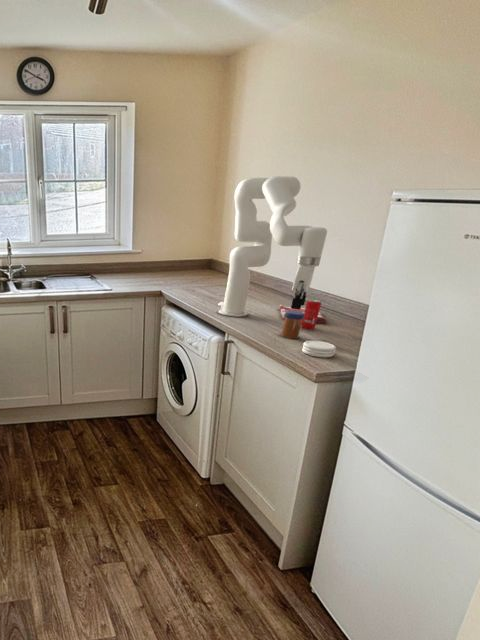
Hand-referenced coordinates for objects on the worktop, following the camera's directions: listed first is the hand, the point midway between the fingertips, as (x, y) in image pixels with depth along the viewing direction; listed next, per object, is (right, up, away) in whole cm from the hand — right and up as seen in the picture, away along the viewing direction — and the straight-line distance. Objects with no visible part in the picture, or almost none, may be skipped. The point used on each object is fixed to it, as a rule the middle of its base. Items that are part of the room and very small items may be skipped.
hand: (297, 306), depth 180 cm
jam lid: (0, -3, +2) cm, 3 cm away
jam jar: (0, -11, +5) cm, 13 cm away
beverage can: (+14, -7, +17) cm, 23 cm away
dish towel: (+24, +1, +36) cm, 43 cm away
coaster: (-2, -20, -14) cm, 24 cm away
